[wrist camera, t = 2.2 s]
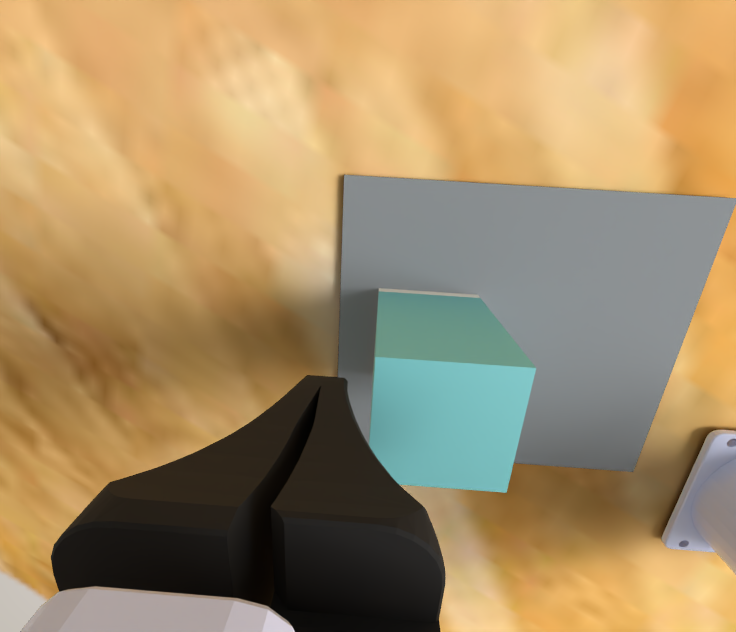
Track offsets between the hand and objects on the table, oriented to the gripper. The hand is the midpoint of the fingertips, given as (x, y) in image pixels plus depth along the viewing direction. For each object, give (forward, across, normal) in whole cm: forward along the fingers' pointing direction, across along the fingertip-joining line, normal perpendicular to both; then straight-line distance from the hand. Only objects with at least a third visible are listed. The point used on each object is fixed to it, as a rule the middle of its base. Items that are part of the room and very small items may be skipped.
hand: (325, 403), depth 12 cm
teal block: (+6, -4, 0) cm, 7 cm away
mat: (+6, -8, 0) cm, 10 cm away
